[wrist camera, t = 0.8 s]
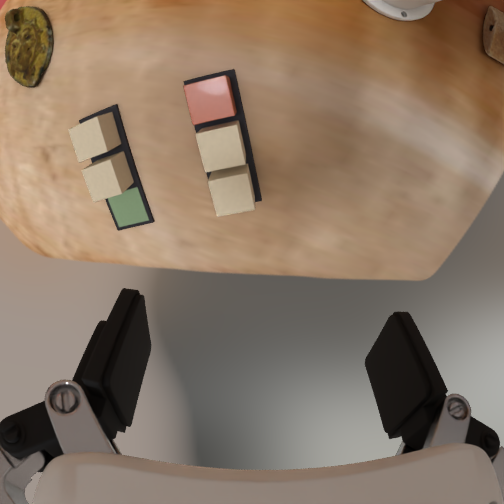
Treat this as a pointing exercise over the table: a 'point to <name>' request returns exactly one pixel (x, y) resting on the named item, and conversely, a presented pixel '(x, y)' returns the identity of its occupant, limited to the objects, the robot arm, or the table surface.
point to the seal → (27, 44)
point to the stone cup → (494, 34)
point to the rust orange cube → (210, 99)
